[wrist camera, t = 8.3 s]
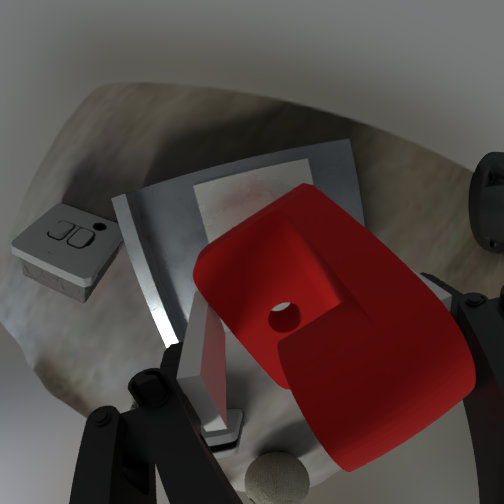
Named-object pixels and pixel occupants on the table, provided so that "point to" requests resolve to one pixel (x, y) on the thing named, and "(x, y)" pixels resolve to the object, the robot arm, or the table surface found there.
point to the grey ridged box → (218, 217)
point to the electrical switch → (68, 250)
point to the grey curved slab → (225, 435)
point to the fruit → (276, 479)
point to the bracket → (337, 324)
